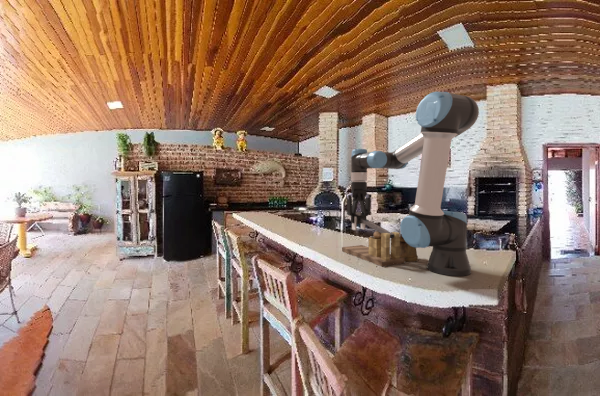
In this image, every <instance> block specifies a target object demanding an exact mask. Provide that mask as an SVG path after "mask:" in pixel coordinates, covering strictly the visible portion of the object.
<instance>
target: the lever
mask: <svg viewBox="0 0 600 396" xmlns="http://www.w3.org/2000/svg"><path fill="white" fill-rule="evenodd" d="M355 216H356V217H357V220H356V225H357V224H358V225H359V224H360V225H361V223H364V224H365V226H368V227H369V228H371V229H373V230H374V231H378V232H380V233H388V234H390V239H391V238H394V234H393V233H391V232H392V231H389V230H387V229H385V228H383V227H382V226H380V225H378V224H376V223H374V222H372V221H371V220H369V219H367V216H366V215H365V214H363V213H362V211H359V212H358V211H356V214H355Z"/></svg>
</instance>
